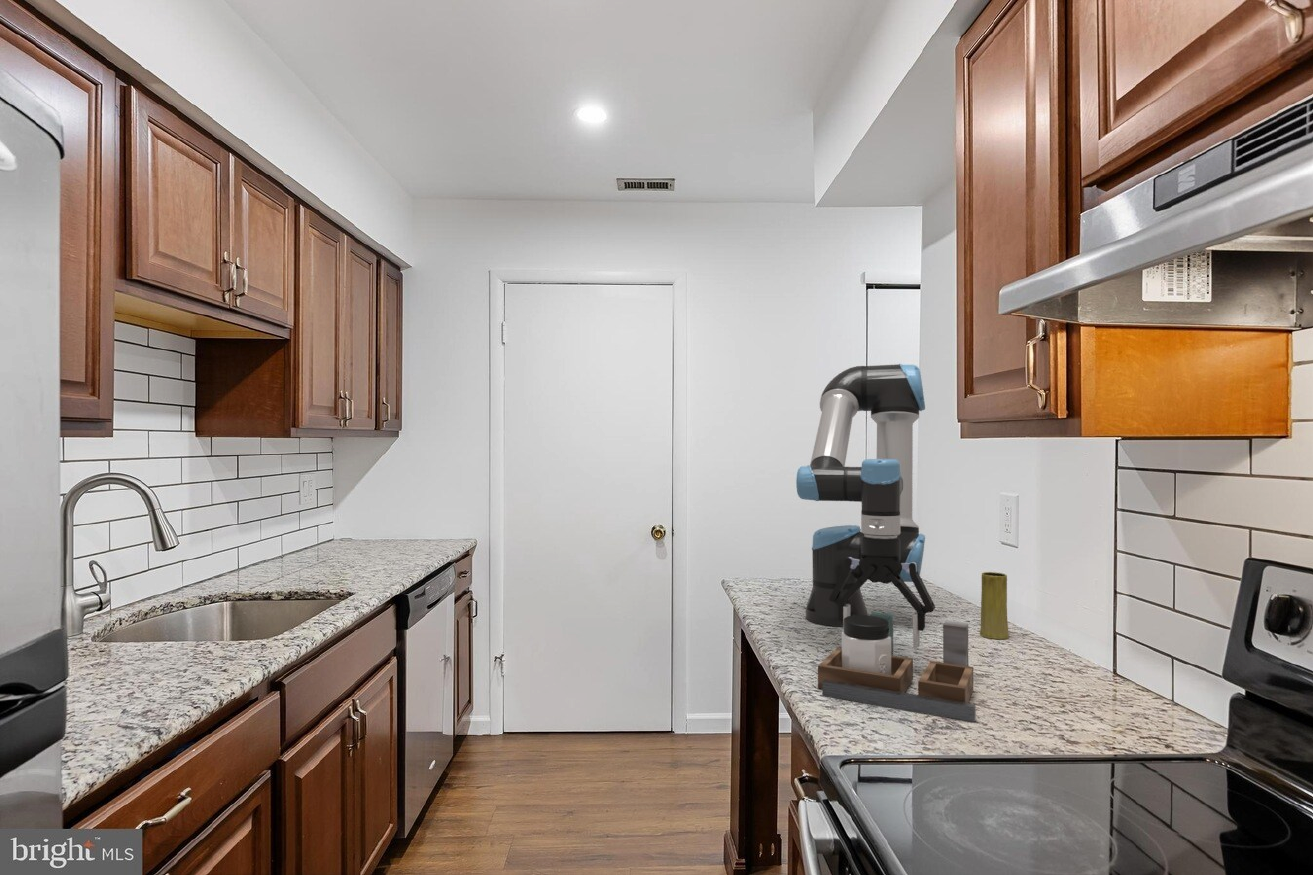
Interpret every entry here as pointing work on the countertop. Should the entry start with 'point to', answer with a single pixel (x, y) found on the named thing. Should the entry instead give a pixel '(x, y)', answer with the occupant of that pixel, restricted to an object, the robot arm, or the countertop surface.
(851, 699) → the end bar
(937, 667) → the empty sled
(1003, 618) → the vase
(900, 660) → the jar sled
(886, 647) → the jar
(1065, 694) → the countertop surface
